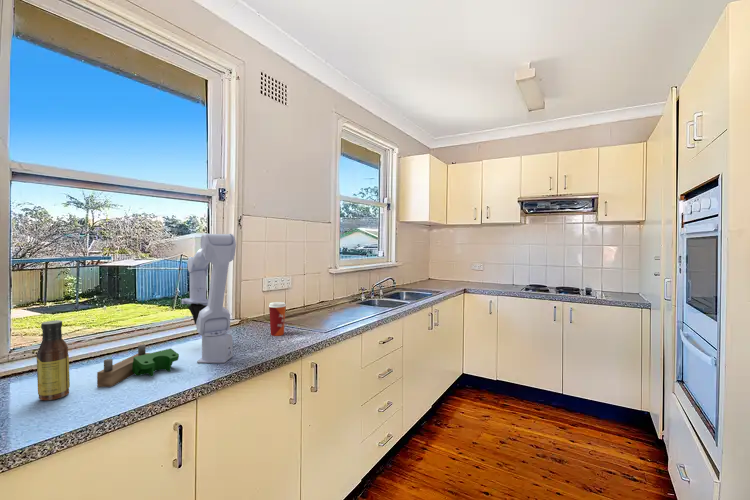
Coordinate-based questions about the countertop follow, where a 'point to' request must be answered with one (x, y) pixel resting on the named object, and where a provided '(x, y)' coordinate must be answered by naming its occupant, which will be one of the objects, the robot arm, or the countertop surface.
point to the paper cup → (277, 318)
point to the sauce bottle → (52, 363)
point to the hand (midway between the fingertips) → (198, 323)
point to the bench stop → (117, 370)
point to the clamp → (154, 362)
